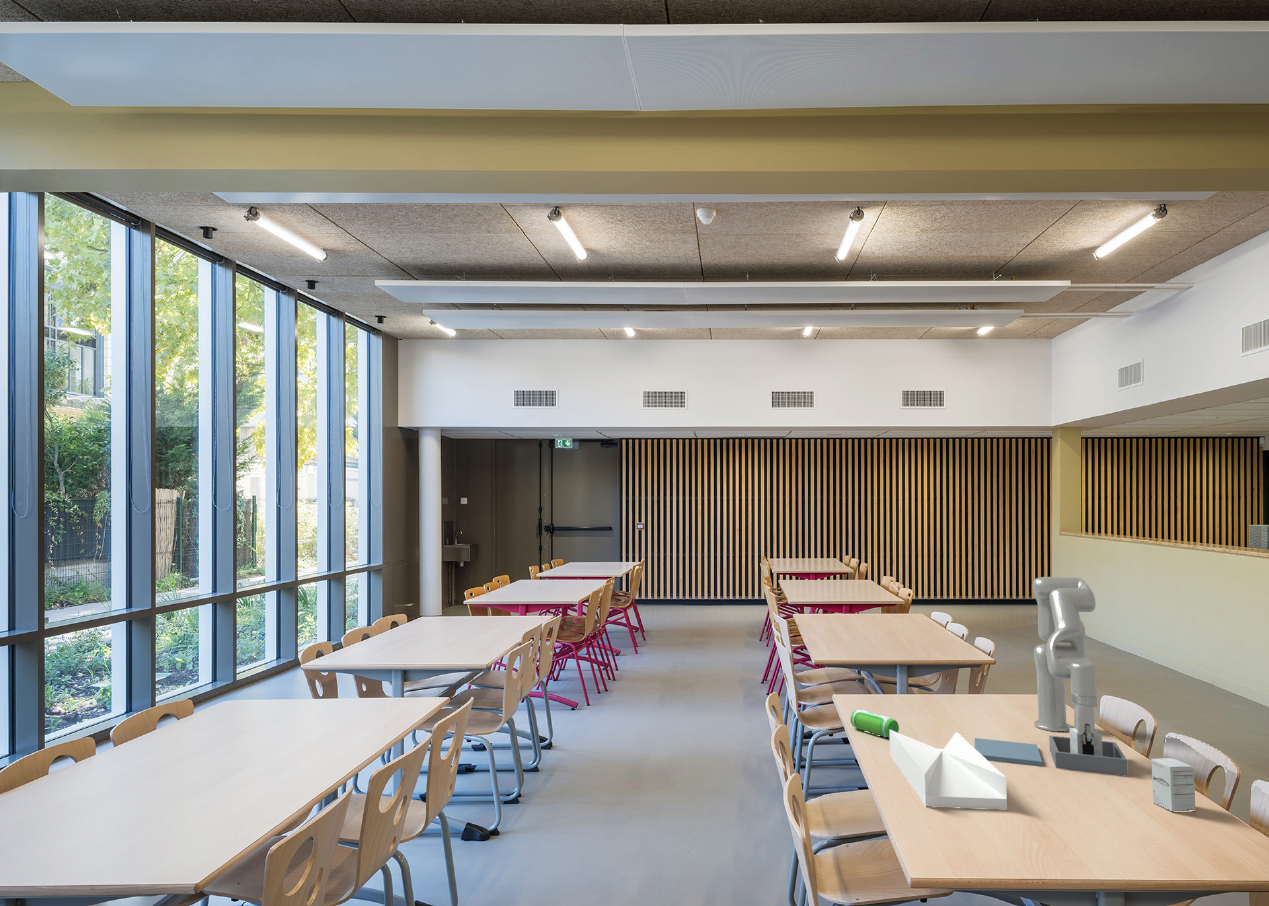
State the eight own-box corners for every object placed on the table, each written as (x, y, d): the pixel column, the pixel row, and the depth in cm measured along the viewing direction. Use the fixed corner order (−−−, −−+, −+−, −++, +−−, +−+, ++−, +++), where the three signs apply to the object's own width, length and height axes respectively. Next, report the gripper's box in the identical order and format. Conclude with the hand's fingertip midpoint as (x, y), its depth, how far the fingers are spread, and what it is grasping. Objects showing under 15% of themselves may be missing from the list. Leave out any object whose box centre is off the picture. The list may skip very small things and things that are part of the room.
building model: (890, 757, 264) (889, 729, 265) (957, 759, 262) (956, 731, 263) (925, 808, 220) (924, 774, 220) (1007, 811, 217) (1005, 776, 218)
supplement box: (1152, 803, 223) (1150, 758, 223) (1176, 802, 223) (1174, 757, 224) (1171, 813, 215) (1169, 766, 216) (1196, 812, 216) (1194, 765, 217)
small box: (1095, 760, 260) (1093, 728, 261) (1103, 765, 255) (1102, 733, 256) (1070, 759, 261) (1068, 727, 262) (1078, 764, 256) (1076, 732, 256)
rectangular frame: (1049, 750, 271) (1049, 735, 271) (1116, 757, 263) (1115, 742, 264) (1056, 767, 253) (1055, 752, 253) (1127, 776, 245) (1127, 759, 245)
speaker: (900, 738, 286) (899, 717, 286) (887, 741, 282) (886, 720, 282) (862, 726, 301) (862, 707, 301) (849, 729, 297) (849, 709, 297)
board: (974, 742, 280) (974, 737, 280) (1036, 748, 273) (1036, 744, 273) (975, 758, 262) (975, 754, 262) (1042, 766, 254) (1042, 761, 254)
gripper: (1068, 693, 269) (1070, 743, 268) (1074, 704, 253) (1077, 758, 252) (1093, 695, 266) (1095, 746, 265) (1101, 707, 250) (1103, 761, 249)
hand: (1086, 752), depth 258 cm, fingers open, 9 cm apart
